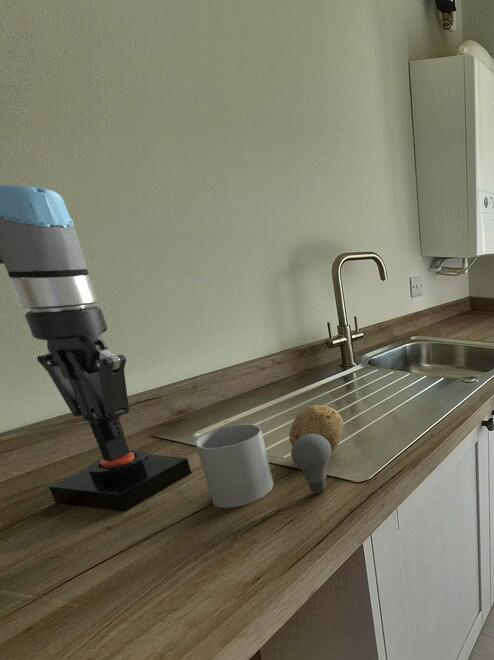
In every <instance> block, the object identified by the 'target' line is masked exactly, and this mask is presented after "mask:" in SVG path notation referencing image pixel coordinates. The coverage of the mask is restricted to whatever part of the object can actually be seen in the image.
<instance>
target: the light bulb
mask: <svg viewBox="0 0 494 660" xmlns="http://www.w3.org/2000/svg"><path fill="white" fill-rule="evenodd" d="M290 451H291V452H290V456H291V457H290V458H291V460H292V462H293V463H294V464H295V466H296V467H297V468H298V469H299V470H301V471H302V473H303V475H304V478H305V480H306V482H307V483H308V486H309V490H310V492H311V493H314V494H321V493H322V492H323V491H325V490H326V488H327V482H326V478H327V466H328V463H329V461H330V458H331V455H332V453H331V446H330V443H329V442H328V440H327V439H325V438H324V437H323V436H321V435H317V434H308V435H304V436H302V437H300V438H299V439H298V440H297V441H296V442H295V443H294V445H292V447H291V449H290Z"/></svg>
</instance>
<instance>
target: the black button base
mask: <svg viewBox="0 0 494 660" xmlns="http://www.w3.org/2000/svg"><path fill="white" fill-rule="evenodd" d="M129 452H132V453H134V456H135V459H134V460H132V461H130V462H128V463H126V464H123V465H119V466H116V467H109V468H102V467H101V464H100V461H101V460H102V459H103V457H102V458H99V459H97V460H95V461H93V462H92V463H90V464H89V465H88V466H87V468H86V469H84V470H82V471H79V472H77V473H75V474H73V475H71V476H68V477H66V478H64V479H61V480H60V481H57V482H54V483H52V484H50V485H49V486H48V489H49V491H50V493H51V495H52V498H53V500H54V502H55V504H61V505H68V506H69V505H70V506H75V507H83V508H92V509H100V510H107V511H108V510H109V511H116V512H123V513H125V512H127V511H129V510H130V509H132V508H134V507H136V506H138V505H139V504H141V503H142V502H144V501H146V500H148V499H150V498H151V497H153V496H155V495H156V494H158V493H160V492H162V491H163V490H166V489H167V488H169V487H171V486H172V485H174V484H175V483H177V482H179V481H181V480H183V479H184V478H186V477H188V476H189V475H191V474H192V470H191V466H190V463H189V460H188V459H189V458H187V457H180V456H171V455H170V456H169V455H158V454H148V453H147V452H146V451H145V450H142V449H141V450H140V449H132V450H129Z"/></svg>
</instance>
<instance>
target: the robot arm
mask: <svg viewBox="0 0 494 660" xmlns="http://www.w3.org/2000/svg"><path fill="white" fill-rule="evenodd" d="M0 265H4V267H5V269H6V272H7V275H8V278H9V280H10V283H11V286H12V287H13V291H14V292H15V295H16V297H17V301H18V303H19V307H20V308H22V309H24V310H26V309H27V310H28V311H26V313H25V315H24V319H25V320H26V323H27V325H28V327H29V331H30V333H31V335H32V337H33V338H34V339H36V340H41V341H46V348H47V351H48V352H47V353H46V354H43V355H38V356H37V357H36V359H37V362H38V363H39V364H40V365H41V366H42V367H43V368H44V369H45V371H46V372H47V373H48V375H49V376H50V378H51V380H52V381H53V384H54V385H55V387H56V389H57V390H58V393H60V396H61V397H62V399H63V400H64V402H65V404H66V405H67V407H68V409H69V410H70V413H71V414H72V415H73V416H74V417H76V418H78V417H82V418H83V420H84V421H86V422H88V423H89V426H90V428H91V431H92V434H93V437H94V439H95V441H96V443H97V446H98V448H99V451H100V454H101V456H102V458H103V459H104V460H106V461H113V460H115V459H118V458H120V457H122V456H124V455H126V454H129V453H130V452H129V451H130V448H129V446H128V443H127V440H126V438H125V432H124V429H123V426H122V423H121V420H120V417H121V416H123V415H125V414H128V413H130V407H129V406H130V405H129V398H128V392H127V391H128V390H127V384H126V375H125V367H126V363H127V357H126V355H125V356H124V355H123V354H116V355H115V354H113V353H112V352H110V351H109V347H108V345H107V343H106V342H105V341H104V339H103V338H102V334H103V333H105V332H107V330H108V325H107V322H106V319H105V316H104V314H103V313H104V312H103V310H102V308H100V307H99V306H95V305H94V304H96V303H97V302H98V301H99V300H98V297H97V294H96V291H95V287H94V285H93V282H92V280H91V277H90V275H89V274H90V273H89V270H88V266H87V264H86V260H85V257H84V253H83V250H82V247H81V243H80V241H79V237H78V234H77V231H76V228H75V222H74V221H73V218H71V216H70V214H69V210H68V208H67V206H66V203H65V200H64V198H63V196H62V195H60V194H59V193H58V192H56V191H54V190H53V189H49V188H43V187H36V186H26V185H24V186H23V185H10V184H9V185H7V184H0Z"/></svg>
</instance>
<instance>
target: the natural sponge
mask: <svg viewBox="0 0 494 660" xmlns="http://www.w3.org/2000/svg"><path fill="white" fill-rule="evenodd" d="M343 426H344V421H343V418H342V416H341V414H340V413H339V412H338V411H337V410H335V409H334V408H332V407H330V406H328V405H321V404H314V405H309V406H307V407H305V408H303V409H302V410H301V411H299V412H298V413H297V415H296V416H295V417H294V420H293V422H292V425H291V427H290V430H289V433H288V434H289V435H288V438H289V442H290V444H291V446H293V445H294V443H295V442H296V441H297V440H298V439H299V438H300V437H302V436H304V435H308V434H317V435H321V436H323V437H324V438H325V439H327V440H328V442H329V443H330V446H331V454H332V453H333V452H334V451H335V450H336V448H337V447H338V446H339V444H340V441H341V439H342V435H343V428H344V427H343Z"/></svg>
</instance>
